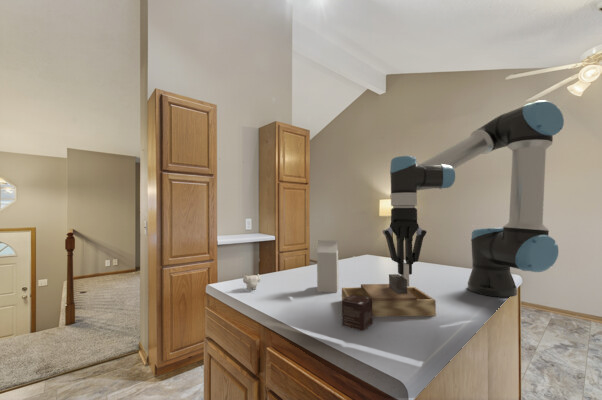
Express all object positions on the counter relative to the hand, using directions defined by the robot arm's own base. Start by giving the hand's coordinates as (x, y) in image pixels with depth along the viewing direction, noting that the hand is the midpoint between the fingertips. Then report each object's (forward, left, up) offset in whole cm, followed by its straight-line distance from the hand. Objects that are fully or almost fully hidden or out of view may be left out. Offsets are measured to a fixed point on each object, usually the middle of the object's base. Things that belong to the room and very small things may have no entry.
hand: (405, 285), depth 87 cm
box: (+17, +12, -8) cm, 23 cm away
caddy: (+6, 0, -7) cm, 10 cm away
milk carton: (+21, -21, -8) cm, 30 cm away
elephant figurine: (+50, -25, -8) cm, 56 cm away
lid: (+6, 0, -2) cm, 6 cm away
